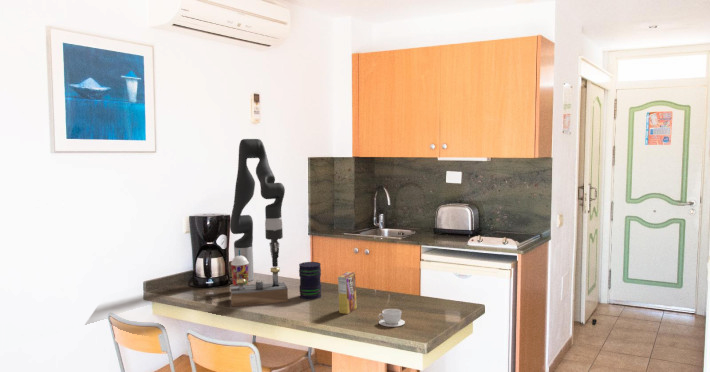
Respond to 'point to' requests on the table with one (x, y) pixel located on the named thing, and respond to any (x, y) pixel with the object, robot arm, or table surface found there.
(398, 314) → the teacup
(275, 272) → the knob
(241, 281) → the knob
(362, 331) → the table surface
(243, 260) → the smoothie
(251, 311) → the table surface
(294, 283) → the table surface
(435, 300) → the table surface
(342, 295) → the candy box
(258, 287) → the cylinder
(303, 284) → the storage jar
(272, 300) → the mount
